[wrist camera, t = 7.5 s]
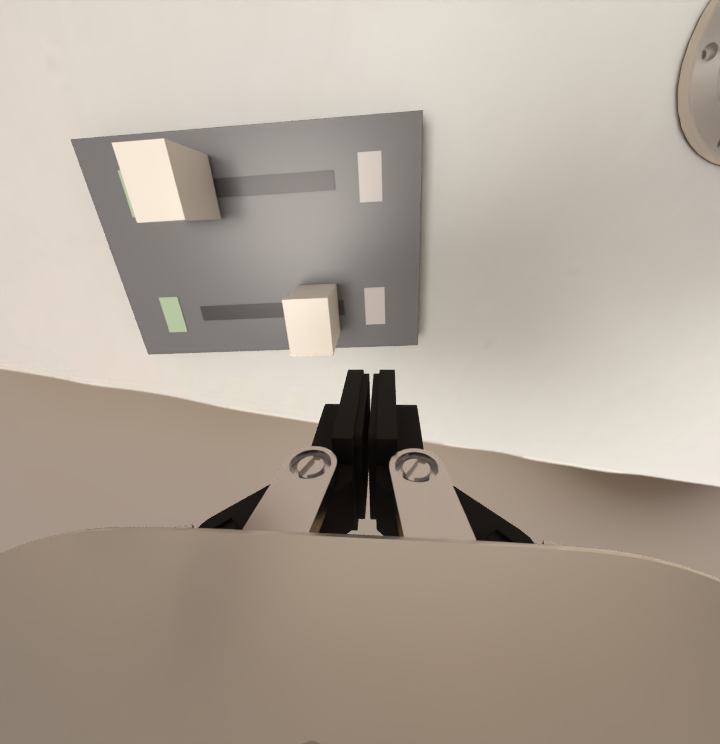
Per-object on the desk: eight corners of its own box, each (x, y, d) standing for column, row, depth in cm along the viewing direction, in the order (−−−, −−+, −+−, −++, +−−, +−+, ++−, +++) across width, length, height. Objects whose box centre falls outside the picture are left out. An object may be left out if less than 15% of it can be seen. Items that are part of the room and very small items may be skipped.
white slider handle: (336, 283, 25) (327, 297, 21) (340, 332, 27) (333, 355, 23) (298, 285, 26) (281, 299, 21) (305, 333, 27) (290, 356, 23)
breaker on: (207, 154, 22) (163, 138, 18) (221, 219, 24) (185, 219, 19) (165, 157, 22) (111, 142, 18) (182, 221, 24) (137, 222, 20)
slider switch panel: (418, 120, 23) (423, 109, 21) (414, 335, 30) (417, 345, 28) (98, 146, 25) (69, 139, 22) (164, 344, 31) (147, 354, 29)
